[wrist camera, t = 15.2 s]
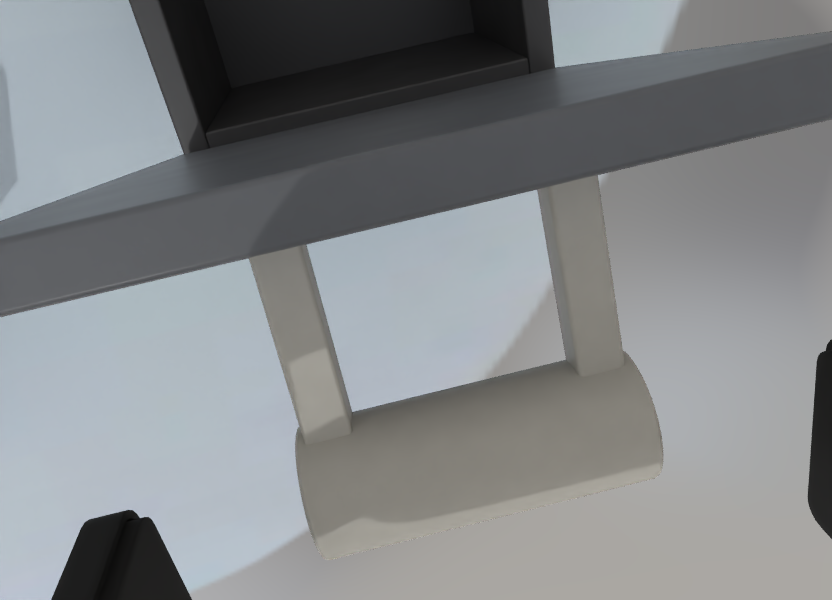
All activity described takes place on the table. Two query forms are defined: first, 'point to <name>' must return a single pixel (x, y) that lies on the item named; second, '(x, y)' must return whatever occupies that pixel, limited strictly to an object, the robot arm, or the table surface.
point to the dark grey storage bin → (327, 57)
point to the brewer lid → (417, 197)
